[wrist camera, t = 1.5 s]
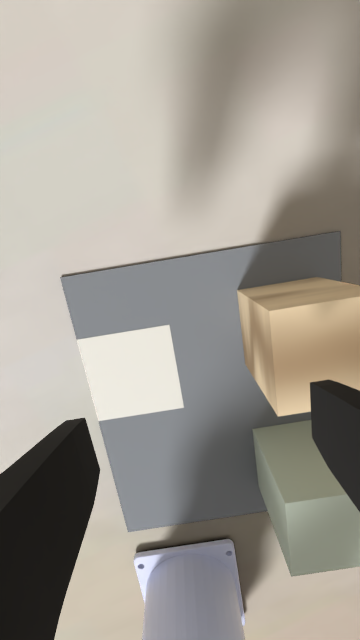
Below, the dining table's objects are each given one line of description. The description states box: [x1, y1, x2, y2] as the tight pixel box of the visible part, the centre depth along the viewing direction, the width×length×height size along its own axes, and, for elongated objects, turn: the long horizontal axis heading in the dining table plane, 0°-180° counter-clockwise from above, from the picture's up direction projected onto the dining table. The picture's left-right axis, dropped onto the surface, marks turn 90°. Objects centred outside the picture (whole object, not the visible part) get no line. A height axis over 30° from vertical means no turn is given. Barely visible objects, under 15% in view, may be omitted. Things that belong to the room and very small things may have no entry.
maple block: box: [237, 277, 360, 417], centre depth 15 cm, size 5×5×6 cm
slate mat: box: [60, 231, 341, 532], centre depth 19 cm, size 20×17×1 cm
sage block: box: [252, 420, 360, 577], centre depth 18 cm, size 5×5×6 cm
